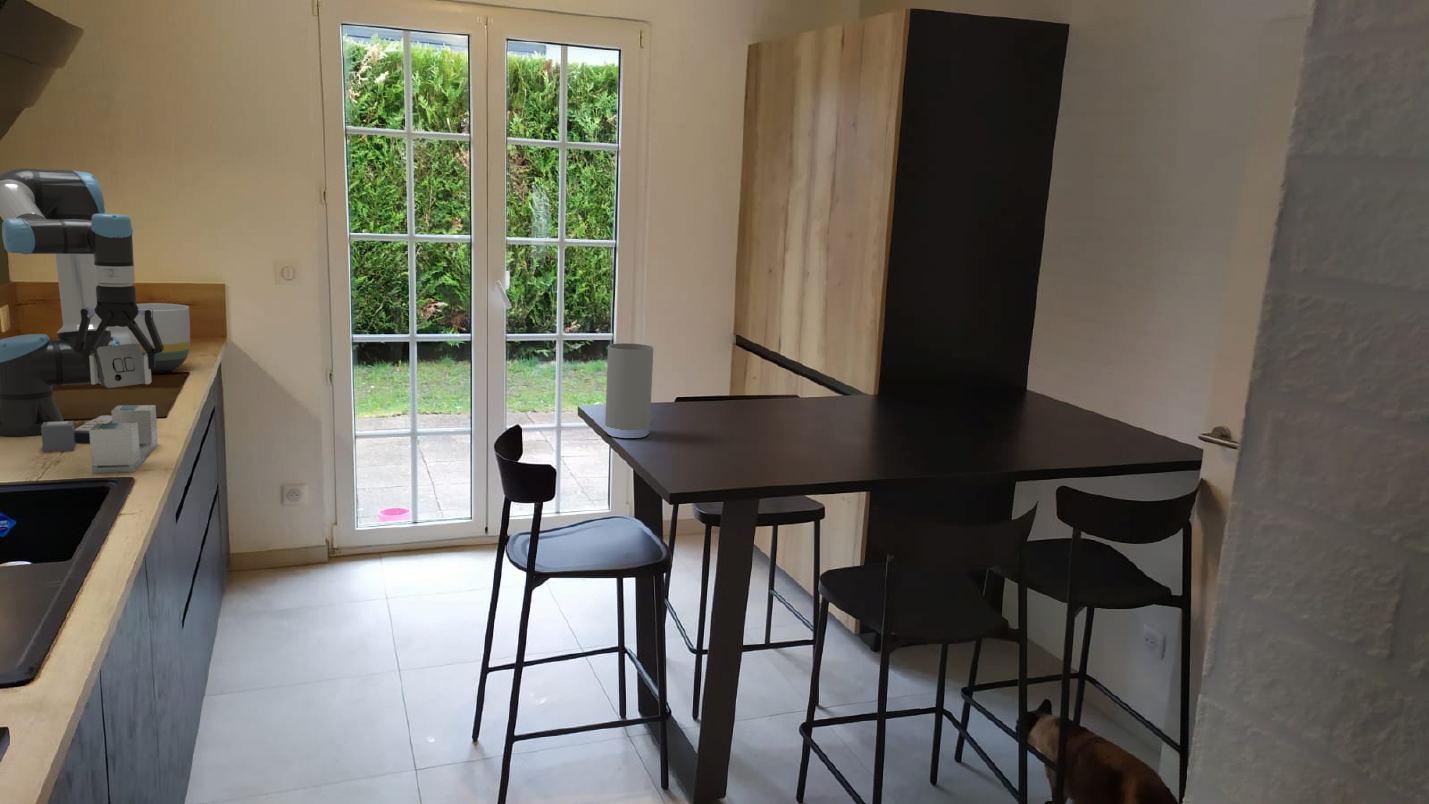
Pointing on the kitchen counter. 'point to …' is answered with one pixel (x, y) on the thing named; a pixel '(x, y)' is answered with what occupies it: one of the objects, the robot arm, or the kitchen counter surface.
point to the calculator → (83, 431)
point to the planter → (167, 334)
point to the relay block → (58, 436)
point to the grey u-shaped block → (123, 439)
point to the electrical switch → (120, 365)
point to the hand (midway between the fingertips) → (121, 383)
